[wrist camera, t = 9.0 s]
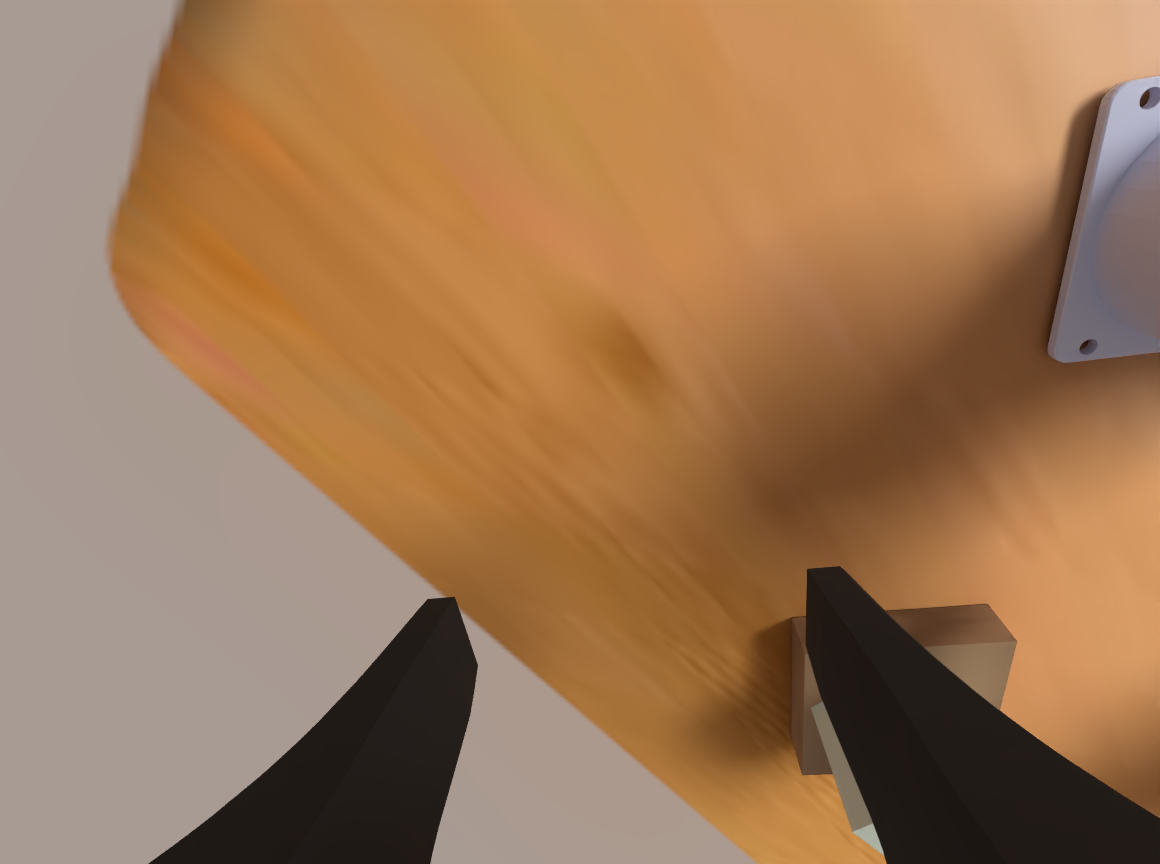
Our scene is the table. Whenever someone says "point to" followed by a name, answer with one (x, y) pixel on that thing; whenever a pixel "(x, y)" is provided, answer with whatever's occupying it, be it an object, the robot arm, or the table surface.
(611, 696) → the table surface
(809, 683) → the walnut plinth
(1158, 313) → the robot arm
